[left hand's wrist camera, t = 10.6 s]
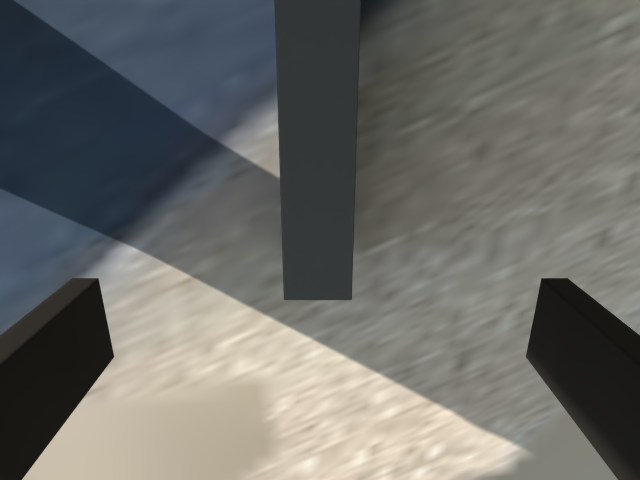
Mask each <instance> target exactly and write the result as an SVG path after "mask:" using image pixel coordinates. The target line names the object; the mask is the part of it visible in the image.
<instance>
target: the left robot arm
mask: <svg viewBox="0 0 640 480" xmlns="http://www.w3.org/2000/svg"><path fill="white" fill-rule="evenodd" d="M113 358H114V354H113V349H112V344H111V339H110V334H109V329H108V324H107V319H106V314H105V309H104V304H103V299H102V294H101V289H100V284H99V279H98V278H72V279H71V280H70V281H69V282H67V283H66V284H65V285H64V286H62V287H61V288H60V289H58V290H57V291H56V292H55V293H53V294H52V295H51V296H50V297H48V298H47V299H46V300H45V301H43V302H42V303H41V304H40V305H38V306H37V307H36V308H34V309H33V310H32V311H31V312H29V313H28V314H27V315H26V316H24V317H23V318H22V319H21V320H19V321H18V322H17V323H15V324H14V325H13V326H12V327H10V328H9V329H8V330H7V331H5V332H4V333H3V334H2V335H0V480H22V479H23V477H24V476H25V475H26V473H27V472H28V471H29V469H30V468H31V467H32V465H33V464H34V463H35V461H36V460H37V459H38V457H39V456H40V455H41V453H42V452H43V451H44V449H45V448H46V447H47V445H48V444H49V443H50V441H51V440H52V439H53V437H54V436H55V435H56V433H57V432H58V431H59V429H60V428H61V427H62V425H63V424H64V423H65V421H66V420H67V419H68V417H69V416H70V415H71V413H72V412H73V411H74V409H75V408H76V407H77V405H78V404H79V403H80V402H81V400H82V399H83V398H84V396H85V395H86V394H87V392H88V391H89V390H90V388H91V387H92V386H93V384H94V383H95V382H96V380H97V379H98V378H99V376H100V375H101V374H102V372H103V371H104V370H105V368H106V367H107V366H108V364H109V363H110V362H111V360H112V359H113ZM526 358H527V359H528V360H529V362H530V363H531V364H532V366H533V367H534V368H535V370H536V371H537V372H538V374H539V375H540V376H541V378H542V379H543V380H544V382H545V383H546V384H547V386H548V387H549V388H550V390H551V391H552V392H553V394H554V395H555V396H556V398H557V399H558V400H559V402H560V403H561V404H562V405H563V407H564V408H565V409H566V411H567V412H568V413H569V415H570V416H571V417H572V419H573V420H574V421H575V423H576V424H577V425H578V427H579V428H580V429H581V431H582V432H583V433H584V435H585V436H586V437H587V439H588V440H589V441H590V443H591V444H592V445H593V447H594V448H595V449H596V451H597V452H598V453H599V455H600V456H601V457H602V459H603V460H604V461H605V463H606V464H607V465H608V467H609V468H610V469H611V471H612V472H613V473H614V475H615V476H616V477H617V479H618V480H640V335H638V334H637V333H636V332H635V331H633V330H632V329H631V328H630V327H628V326H627V325H626V324H625V323H623V322H622V321H621V320H619V319H618V318H617V317H616V316H614V315H613V314H612V313H611V312H609V311H608V310H607V309H606V308H604V307H603V306H602V305H600V304H599V303H598V302H597V301H595V300H594V299H593V298H592V297H590V296H589V295H588V294H587V293H585V292H584V291H583V290H582V289H580V288H579V287H578V286H576V285H575V284H574V283H573V282H571V281H570V280H569V279H568V278H542V279H541V284H540V289H539V294H538V299H537V304H536V309H535V314H534V319H533V324H532V329H531V334H530V339H529V344H528V349H527V354H526Z"/></svg>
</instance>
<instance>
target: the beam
mask: <svg viewBox="0 0 640 480" xmlns="http://www.w3.org/2000/svg"><path fill="white" fill-rule="evenodd" d="M360 8H361V0H275V31H276V63H277V95H278V126H279V158H280V190H281V221H282V253H283V284H284V300H351V299H352V270H353V238H354V205H355V172H356V139H357V107H358V74H359V41H360Z"/></svg>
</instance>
